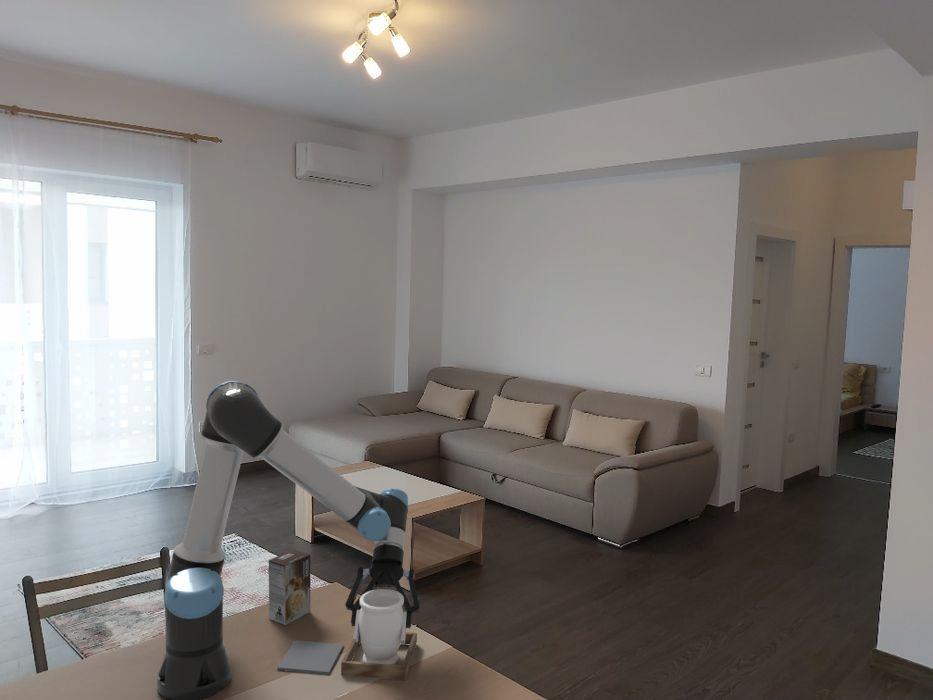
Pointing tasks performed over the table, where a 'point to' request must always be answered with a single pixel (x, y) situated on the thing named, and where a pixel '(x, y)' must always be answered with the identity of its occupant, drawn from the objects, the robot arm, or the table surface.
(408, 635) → the collar
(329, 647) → the pad
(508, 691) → the table surface
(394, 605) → the jar
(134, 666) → the table surface
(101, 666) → the table surface
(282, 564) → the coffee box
